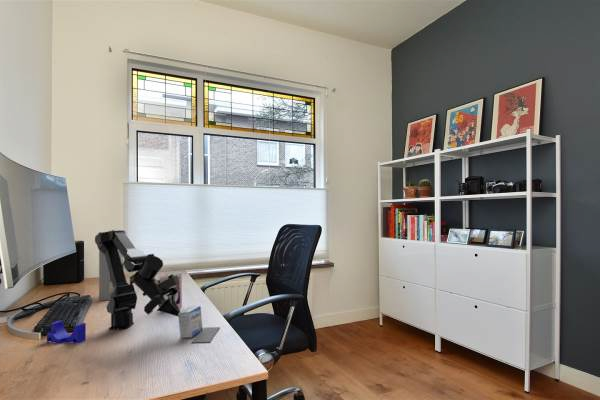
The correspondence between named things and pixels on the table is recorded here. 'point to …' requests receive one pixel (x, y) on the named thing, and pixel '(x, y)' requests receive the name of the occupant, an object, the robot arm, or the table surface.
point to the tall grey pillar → (105, 277)
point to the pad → (206, 335)
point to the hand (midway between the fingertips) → (180, 315)
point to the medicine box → (190, 322)
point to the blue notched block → (66, 333)
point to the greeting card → (179, 294)
